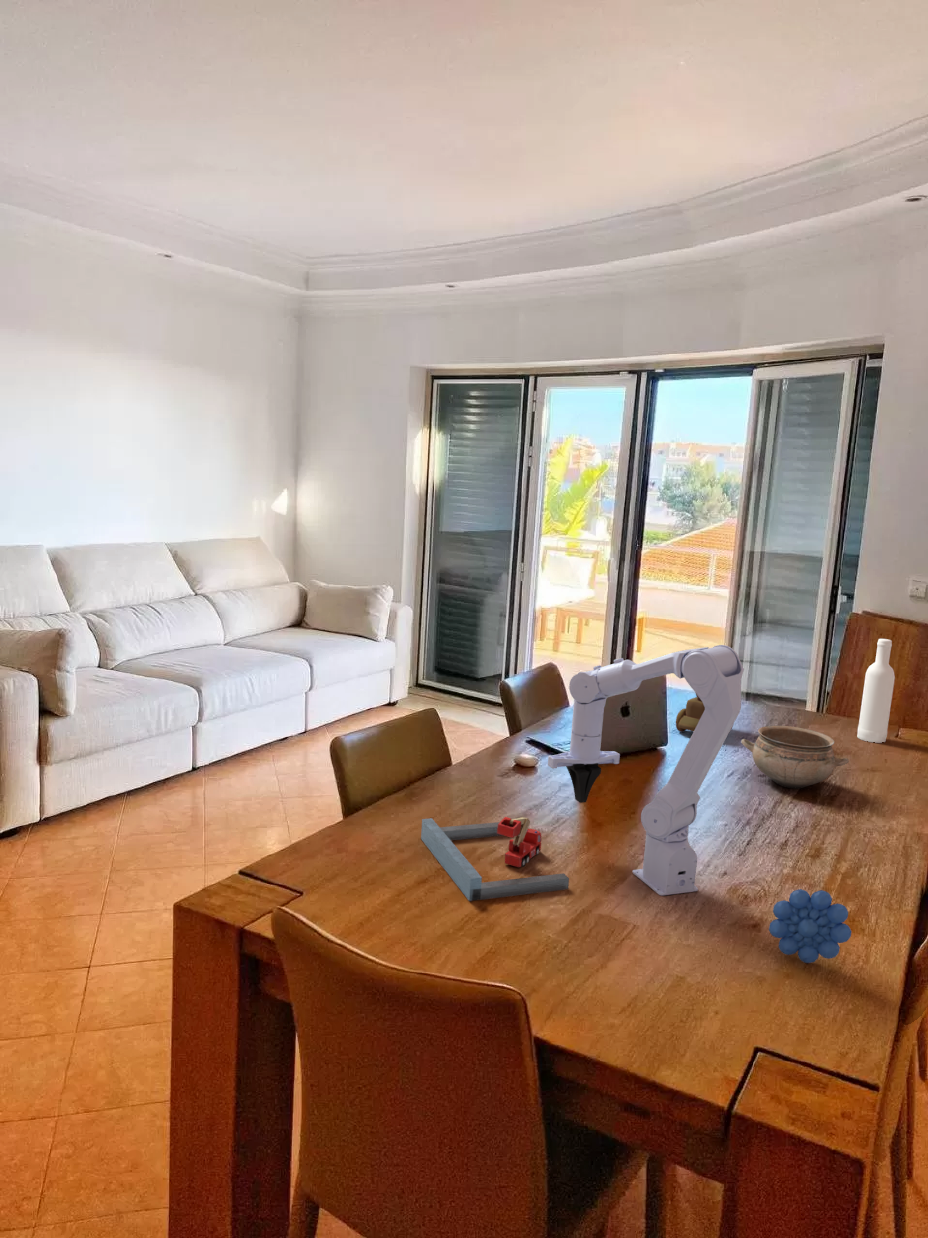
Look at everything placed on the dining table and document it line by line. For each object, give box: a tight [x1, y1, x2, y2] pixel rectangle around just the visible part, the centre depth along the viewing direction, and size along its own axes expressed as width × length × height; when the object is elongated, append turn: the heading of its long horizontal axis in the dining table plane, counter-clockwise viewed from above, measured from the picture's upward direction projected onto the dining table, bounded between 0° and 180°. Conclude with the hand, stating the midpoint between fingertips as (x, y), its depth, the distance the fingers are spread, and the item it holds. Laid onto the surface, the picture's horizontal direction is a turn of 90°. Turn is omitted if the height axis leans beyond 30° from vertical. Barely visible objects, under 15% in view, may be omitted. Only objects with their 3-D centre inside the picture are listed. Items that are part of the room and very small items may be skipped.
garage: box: [420, 817, 570, 902], centre depth 164 cm, size 26×18×4 cm
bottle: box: [856, 638, 896, 744], centre depth 262 cm, size 8×8×30 cm
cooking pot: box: [740, 725, 850, 789], centre depth 218 cm, size 25×19×12 cm
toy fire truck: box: [497, 816, 542, 868], centre depth 165 cm, size 3×14×10 cm, turn 150°
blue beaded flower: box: [768, 888, 852, 964], centre depth 136 cm, size 12×7×12 cm, turn 56°
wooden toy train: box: [675, 693, 735, 733], centre depth 260 cm, size 20×11×17 cm, turn 139°
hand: (580, 800), depth 172 cm, fingers closed
